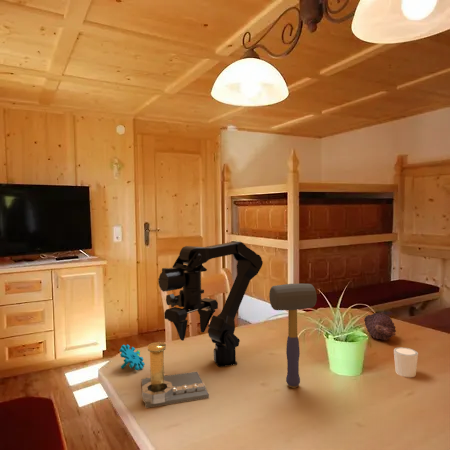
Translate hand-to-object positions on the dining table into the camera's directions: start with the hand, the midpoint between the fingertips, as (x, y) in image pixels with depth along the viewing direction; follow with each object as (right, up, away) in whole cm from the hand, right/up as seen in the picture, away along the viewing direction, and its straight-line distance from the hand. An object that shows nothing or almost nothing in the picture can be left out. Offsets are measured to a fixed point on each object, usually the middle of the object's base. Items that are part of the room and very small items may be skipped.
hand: (192, 336), depth 117 cm
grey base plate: (-5, -13, -10) cm, 17 cm away
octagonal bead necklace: (-5, -12, -10) cm, 16 cm away
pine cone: (+71, -10, +30) cm, 78 cm away
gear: (-20, -12, +6) cm, 24 cm away
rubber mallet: (+30, -12, -8) cm, 33 cm away
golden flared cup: (-8, -12, -15) cm, 21 cm away
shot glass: (+66, -12, -1) cm, 67 cm away
